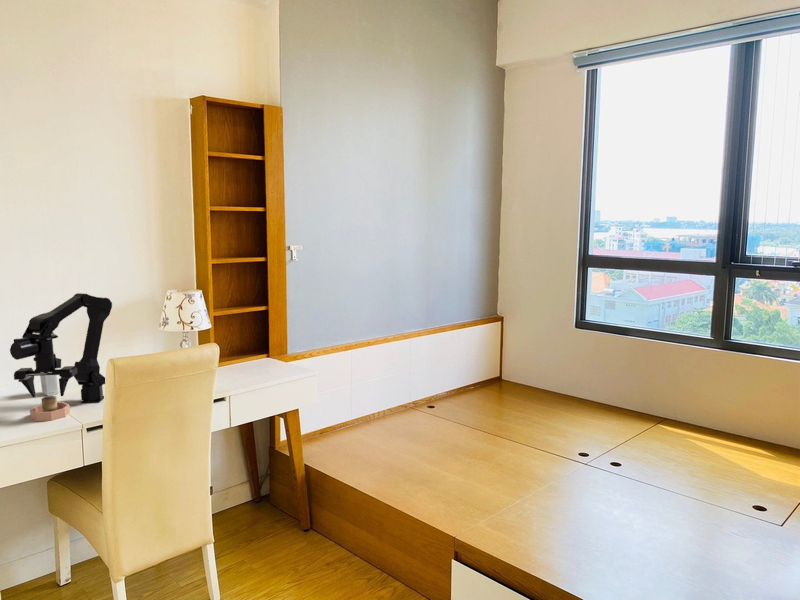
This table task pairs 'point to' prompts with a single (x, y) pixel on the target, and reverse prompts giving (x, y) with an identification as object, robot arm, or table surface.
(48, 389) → the skincare box
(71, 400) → the table surface
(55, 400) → the oak tube
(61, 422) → the table surface
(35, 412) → the pink octagonal ring
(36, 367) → the robot arm
